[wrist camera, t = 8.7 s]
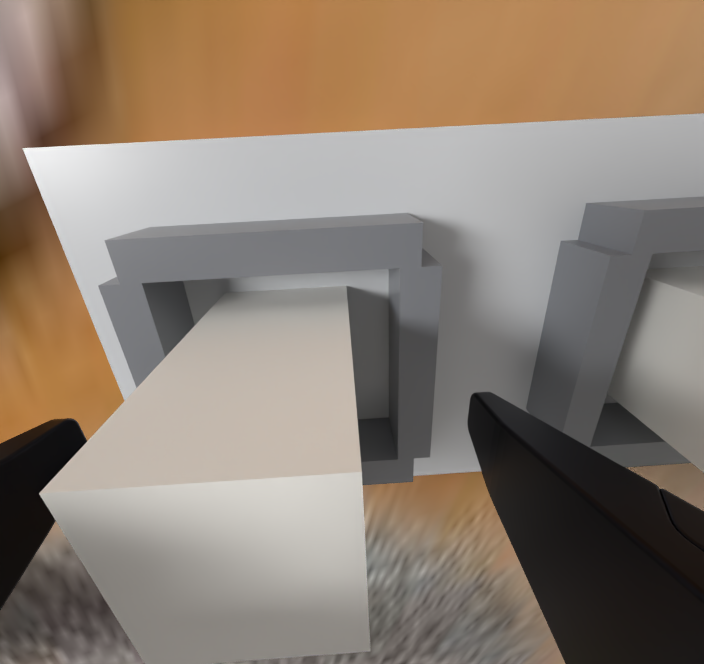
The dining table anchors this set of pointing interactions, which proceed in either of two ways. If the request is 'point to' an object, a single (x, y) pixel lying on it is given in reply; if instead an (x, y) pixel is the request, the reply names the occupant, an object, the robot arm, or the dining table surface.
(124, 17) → the dining table surface
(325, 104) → the dining table surface
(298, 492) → the cream rectangular block
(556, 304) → the housing
